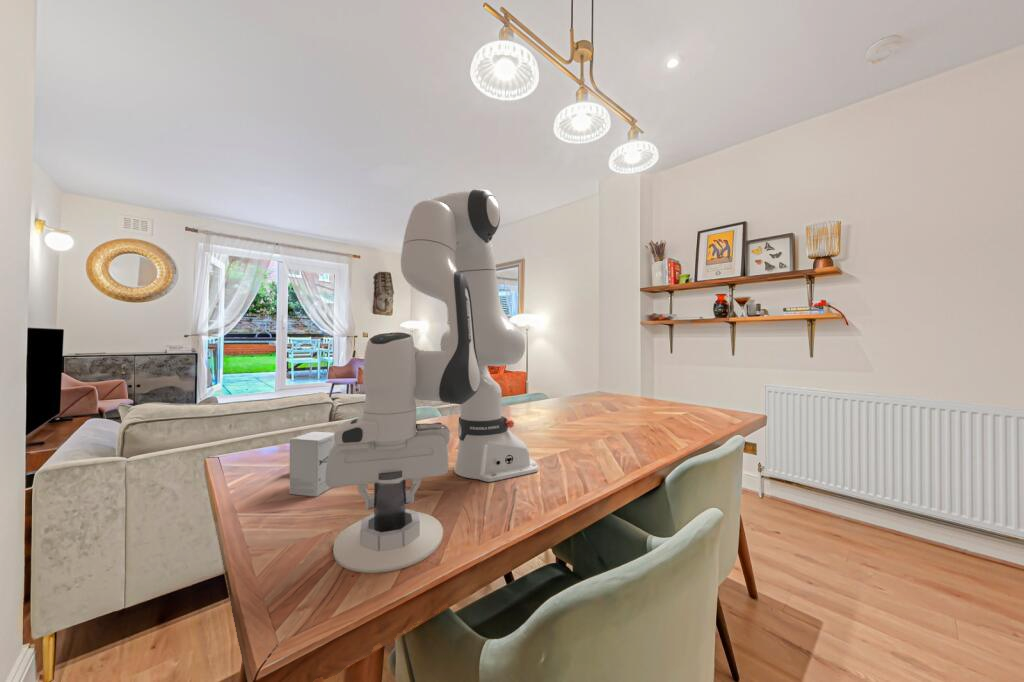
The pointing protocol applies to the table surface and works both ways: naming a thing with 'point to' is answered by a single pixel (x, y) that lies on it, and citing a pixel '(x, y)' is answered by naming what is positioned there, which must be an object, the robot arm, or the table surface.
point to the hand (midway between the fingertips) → (390, 504)
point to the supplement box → (309, 463)
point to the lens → (389, 502)
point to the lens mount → (387, 544)
